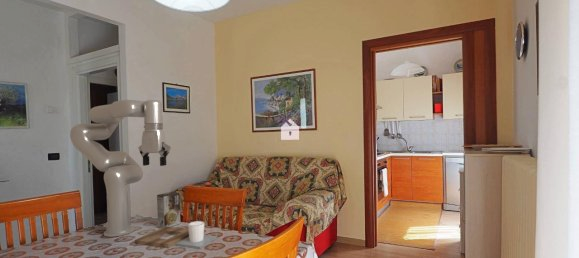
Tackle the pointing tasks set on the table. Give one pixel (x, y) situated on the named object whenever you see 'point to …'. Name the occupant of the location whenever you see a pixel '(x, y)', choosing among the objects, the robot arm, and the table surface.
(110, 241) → the table surface
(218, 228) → the table surface
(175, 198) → the coffee box
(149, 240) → the pocket board
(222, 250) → the table surface
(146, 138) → the robot arm
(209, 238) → the ceramic tile
